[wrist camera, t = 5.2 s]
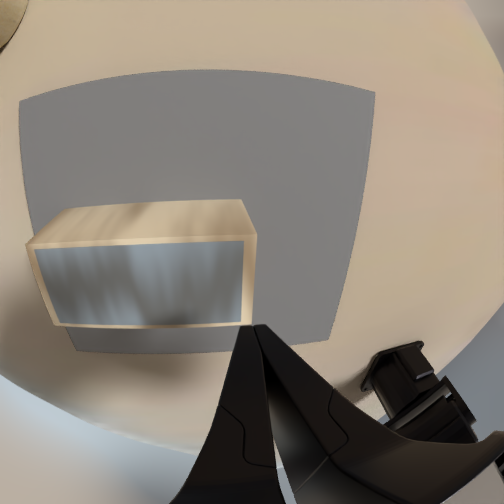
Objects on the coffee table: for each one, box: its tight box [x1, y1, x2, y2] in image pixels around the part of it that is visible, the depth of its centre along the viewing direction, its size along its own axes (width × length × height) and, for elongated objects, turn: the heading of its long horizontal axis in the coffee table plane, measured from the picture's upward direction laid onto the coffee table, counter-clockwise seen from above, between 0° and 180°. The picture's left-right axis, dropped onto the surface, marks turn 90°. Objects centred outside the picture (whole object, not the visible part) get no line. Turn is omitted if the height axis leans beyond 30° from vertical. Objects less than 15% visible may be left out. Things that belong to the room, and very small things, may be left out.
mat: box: [19, 70, 375, 354], centre depth 15 cm, size 18×20×1 cm
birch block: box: [25, 199, 257, 329], centre depth 13 cm, size 4×5×10 cm
